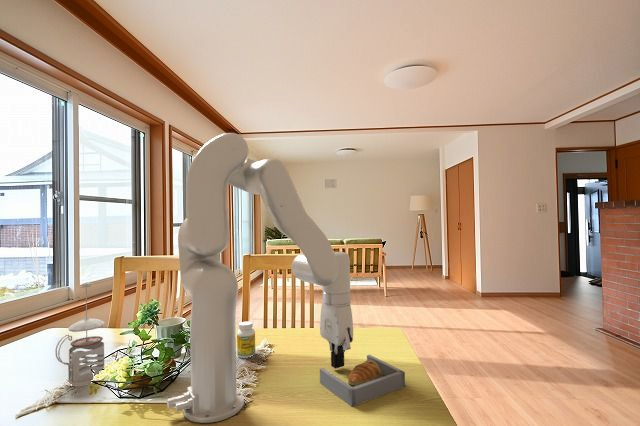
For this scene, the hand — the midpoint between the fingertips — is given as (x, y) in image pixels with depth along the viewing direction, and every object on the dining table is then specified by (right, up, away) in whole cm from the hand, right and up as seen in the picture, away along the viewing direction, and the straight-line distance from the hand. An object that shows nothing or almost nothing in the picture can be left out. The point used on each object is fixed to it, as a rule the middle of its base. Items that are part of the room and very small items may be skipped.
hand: (337, 366), depth 94 cm
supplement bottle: (-27, -2, +11) cm, 29 cm away
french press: (-67, -2, -3) cm, 67 cm away
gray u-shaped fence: (+5, -1, -9) cm, 10 cm away
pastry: (+7, -1, -6) cm, 9 cm away
